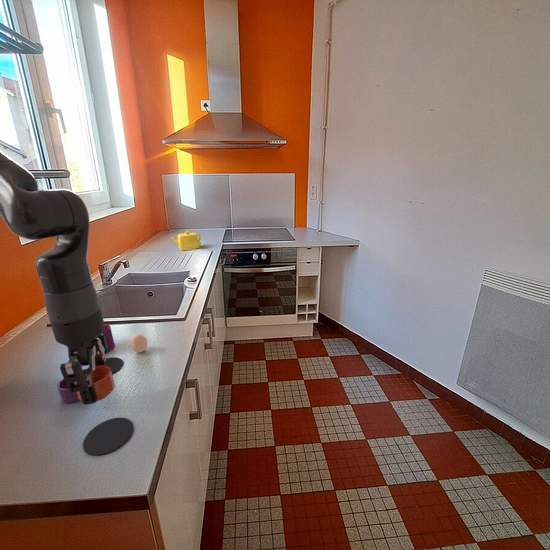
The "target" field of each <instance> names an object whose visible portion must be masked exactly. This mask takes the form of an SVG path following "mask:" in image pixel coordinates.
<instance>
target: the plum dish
mask: <svg viewBox="0 0 550 550" xmlns="http://www.w3.org/2000/svg"><path fill="white" fill-rule="evenodd" d="M56 388H57V392H58V395H59V398H60V401H62V402H63V403H67V404H68V403H69V404H70V403H75V402H78V401H80V400H79V398H78V394H77V392H74V393H70V392H69V389H68V387H67V385H66V382H65V380H64V377H62V379H61V380H60V381H58V383H57V384H56Z"/></svg>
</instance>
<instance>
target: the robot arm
mask: <svg viewBox="0 0 550 550" xmlns="http://www.w3.org/2000/svg"><path fill="white" fill-rule="evenodd" d="M0 217H1V219H2V220H3V222H4V224H5V226H6V227H7V228H8V229H9V231H10V232H12V233H13V234H14V235H16V236H18V237H20V238H23V239H26V240H30V241H41V240H45V239H50V238H54V237H55V242H54V245H53V246H52V248H49V250H46V251H45V252H43V253H41V254H39V255H38V256H37V257H36V258H35V259H34V260H35V261H34V264H35V265H34V266H35V271H36V274H37V276H38V277H37V278H38V280H39V283H40V287H41V289H42V294H43V301H44V302H43V303H44V307H45V311H46V313H47V316H48V320H49V324H50V327H51V330H52V333H53V336H54V340H55V341H56V342H57V343H58V344H60V345H64V346H66V347H67V356H68V360H67V362H64V363H61V364H60V365H59V371H60V372H61V376H62V378H64V380H65V382H66V385H67V387H68V389H69V392H70V393H74V392H80V395H81V399H82V401H81V402H82V405H92V404H95V403H97V402H98V401H97V395H96V391H95V387H94V384H93V375H92V373H93V372H94V371H95V366H100V365H104V366H106V363H105V362H104V361H106V358H107V355H106V354H109V352H108V346H107V340H106V335H105V324H106V323H105V321H104V316H103V312H102V308H101V304H100V300H99V296H98V292H97V290H96V287H95V285H94V282H93V278H92V274H91V269H90V266H89V262H88V253H89V252H88V251H89V236H90V215H89V211H88V208H87V206H86V204H85V202H84V200H83V199H82V197H80V196H79V194H77V193H76V192H75V191H72V190H70V189H66V188H55V189H54V188H53V189H44V190H43V189H42V190H39V184H38V181H37V179H36V178H35V176H34V174H32V173H31V172H30V171H29V170H27V168H25V167H24V166H22V165H21V164H19V163H18V162H17V161H15V160H14V159H12V158H11V157H10V156H8V155H7V154H6V153H4V152H3V151H1V150H0ZM102 345H103V346H102ZM85 366H86V367H87V366H88V367H87V368H83V367H85ZM84 374H86V375H87V380H86V378H85V375H84ZM74 383H75V384H74Z"/></svg>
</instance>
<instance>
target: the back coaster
mask: <svg viewBox="0 0 550 550" xmlns="http://www.w3.org/2000/svg"><path fill="white" fill-rule="evenodd" d="M104 362H105V363H106V366H108V367H110V368H111V372H112V375H113V374H115V373H117V372H119V370H121V369H122V367H123V365H124V361H123V359H122V358H120V357H117V356H116V357H115V356H112V357H106V361H104Z"/></svg>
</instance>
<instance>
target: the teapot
mask: <svg viewBox="0 0 550 550" xmlns="http://www.w3.org/2000/svg"><path fill="white" fill-rule="evenodd" d="M201 239H202V236H201V234H199V233H195V232H190V231H189V230H187V231H184V233H178V234H177V239H176V238H175V237H174V236H172V237H171V240H172V242H174V244H175V245H177V247H178V250H179V251H181V250H186V251H189V250H188V249H194V250H198V249H197V248H199V249H200V246H201V245H202V242H201Z"/></svg>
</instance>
